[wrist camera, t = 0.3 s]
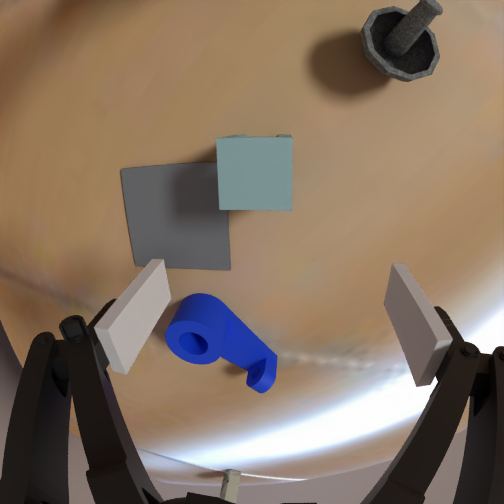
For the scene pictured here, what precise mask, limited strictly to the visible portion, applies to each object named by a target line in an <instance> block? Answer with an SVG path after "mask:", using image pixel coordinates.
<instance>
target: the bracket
mask: <svg viewBox="0 0 504 504" xmlns="http://www.w3.org/2000/svg"><path fill="white" fill-rule="evenodd" d="M165 338H166V342H167V345H168V347H169V348H170V349H171V351H172V352H173V353H174V354H175V355H177V356H178V357H179V358H181V359H183V360H185V361H187V362H190V363H194V364H209V363H212V362H214V361H216V360H217V359H218V358H219V357H220V356H221V357H223V358H224V359H226V360H228V361H230V362H232V363H234V364H236V365H238V366H239V367H241V368H243V369H245V370H247V371H248V375H247V381H246V383H247V386H249V387H251V388H252V389H254V390H255V391H257V392H259V393H264V392H266V391H267V390H269V389H270V388H271V386H272V385H273V383H274V381H275V378H276V368H277V355H276V354H275V353H274V352H273V351H271V350H270V349H269V348H268V347H267V346H266V345H265V344H264V343H263V342H262V341H261V340H260V339H259V338H258V337H257V336H256V335H255V334H254V333H253V332H252V331H251V330H250V329H249V328H248V327H247V326H246V325H245V324H244V323H243V322H242V321H241V320H240V319H239V318H238V317H237V316H236V315H235V314H234V313H233V312H232V311H231V310H230V309H229V308H228V307H227V306H226V305H225V304H224V303H223V302H222V301H221V300H219V299H218V298H216V297H214V296H212V295H208V294H203V293H197V294H192V295H190V296H188V297H186V298H185V299H184V300H183V301H182V303H181V305H180V307H179V308H178V310H177V312H176V314H175V316H174V318H173V319H172V321H171V323H170V325H169V327H168V329H167V331H166V335H165Z"/></svg>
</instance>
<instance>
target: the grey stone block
mask: <svg viewBox="0 0 504 504" xmlns="http://www.w3.org/2000/svg"><path fill="white" fill-rule="evenodd" d="M240 477H241V472H239V471H235V470H232V469H230V470H228V471H226V472H225V473H224V478H223V483H222V488H221V493H220V498H221V499H224V500H226V501H229V502H232V503H235V502H236V500H237V494H238V488H239V483H240Z"/></svg>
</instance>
